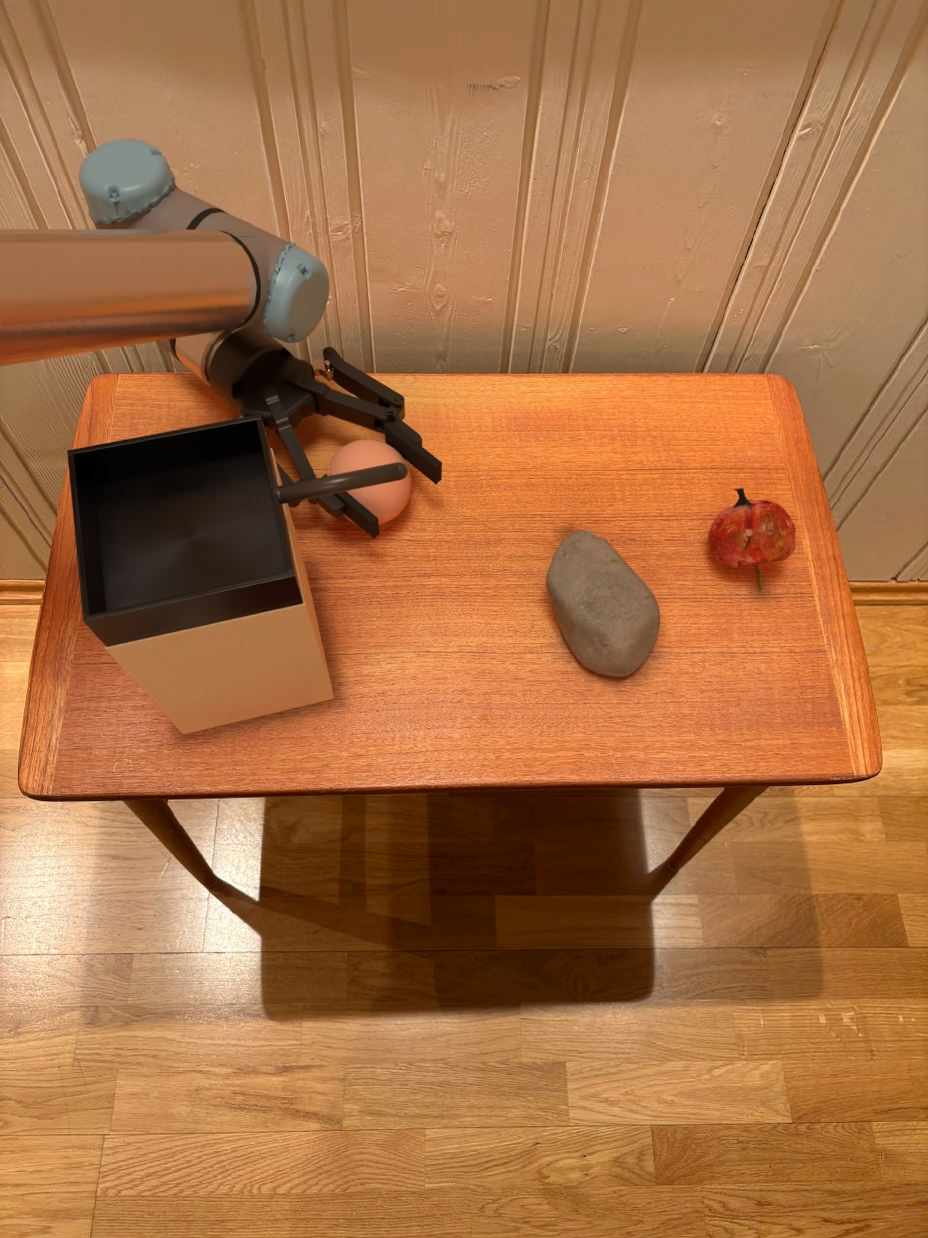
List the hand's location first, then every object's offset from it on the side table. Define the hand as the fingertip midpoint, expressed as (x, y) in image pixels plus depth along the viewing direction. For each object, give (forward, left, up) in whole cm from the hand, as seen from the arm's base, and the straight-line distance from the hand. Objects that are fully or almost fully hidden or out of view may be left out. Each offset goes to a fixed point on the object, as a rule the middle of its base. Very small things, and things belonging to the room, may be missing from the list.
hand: (407, 500), depth 75 cm
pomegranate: (+30, -10, -6) cm, 33 cm away
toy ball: (-3, +4, -6) cm, 8 cm away
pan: (-12, -8, +13) cm, 20 cm away
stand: (-17, -8, -6) cm, 19 cm away
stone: (+14, -12, -6) cm, 20 cm away
